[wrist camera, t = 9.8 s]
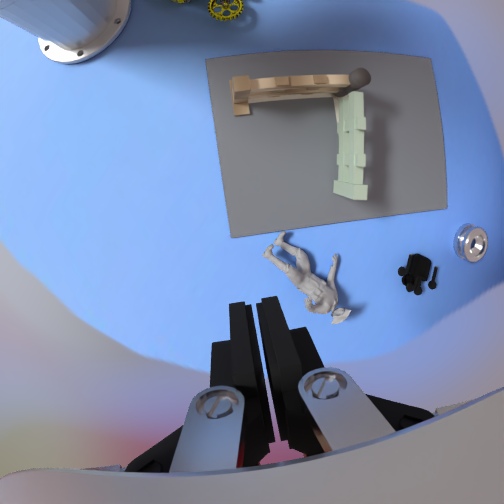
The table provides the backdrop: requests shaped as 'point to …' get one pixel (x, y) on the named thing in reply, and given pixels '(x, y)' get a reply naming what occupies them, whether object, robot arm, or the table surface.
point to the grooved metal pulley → (470, 242)
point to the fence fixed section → (294, 87)
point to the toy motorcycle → (224, 5)
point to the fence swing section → (351, 147)
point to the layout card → (326, 141)
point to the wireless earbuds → (417, 273)
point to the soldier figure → (310, 281)
